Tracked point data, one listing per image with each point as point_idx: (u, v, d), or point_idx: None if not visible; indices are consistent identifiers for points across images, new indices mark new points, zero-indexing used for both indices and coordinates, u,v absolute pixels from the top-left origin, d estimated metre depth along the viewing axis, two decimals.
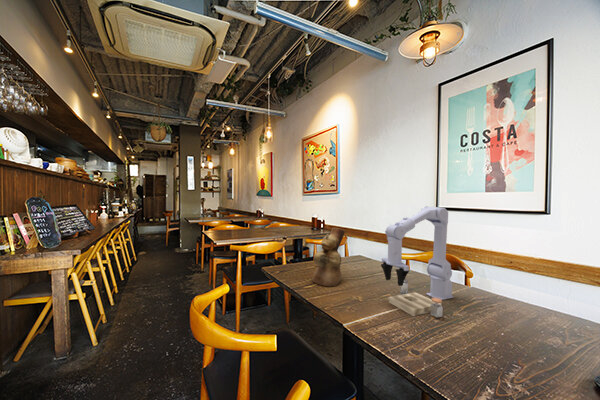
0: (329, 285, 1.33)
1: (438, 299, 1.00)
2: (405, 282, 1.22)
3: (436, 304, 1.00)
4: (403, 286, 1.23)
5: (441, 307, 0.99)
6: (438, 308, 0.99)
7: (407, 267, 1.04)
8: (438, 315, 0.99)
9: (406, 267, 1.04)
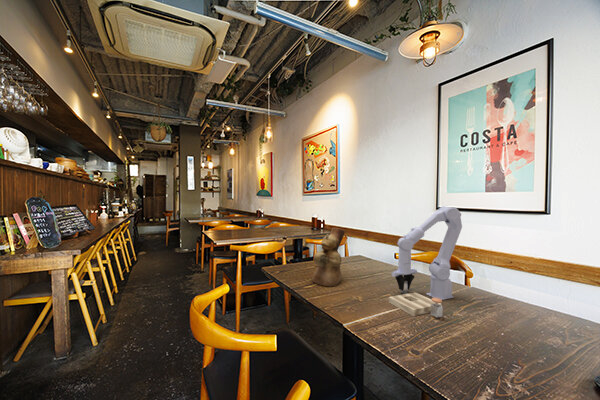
0: (329, 285, 1.33)
1: (438, 299, 1.00)
2: (405, 282, 1.22)
3: (436, 304, 1.00)
4: None
5: (441, 307, 0.99)
6: (438, 308, 0.99)
7: (393, 273, 1.21)
8: (438, 315, 0.99)
9: (392, 273, 1.21)
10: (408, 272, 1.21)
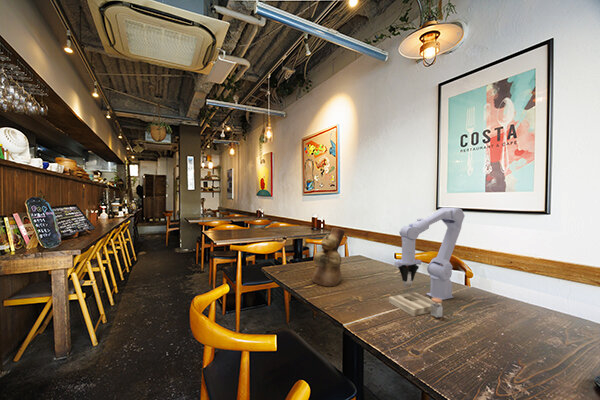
0: (329, 285, 1.33)
1: (438, 299, 1.00)
2: (408, 273, 1.16)
3: (436, 304, 1.00)
4: None
5: (441, 307, 0.99)
6: (438, 308, 0.99)
7: (396, 263, 1.14)
8: (438, 315, 0.99)
9: (395, 263, 1.15)
10: (412, 262, 1.15)
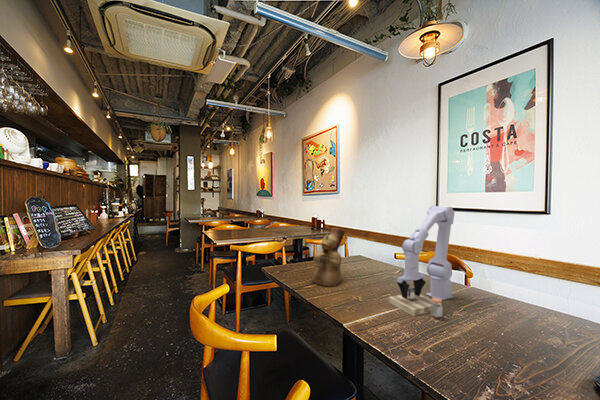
0: (329, 285, 1.33)
1: (438, 299, 1.00)
2: (412, 291, 1.11)
3: (436, 304, 1.00)
4: (409, 295, 1.11)
5: (441, 307, 0.99)
6: (438, 308, 0.99)
7: (399, 279, 1.09)
8: (438, 315, 0.99)
9: (398, 279, 1.10)
10: (415, 278, 1.10)
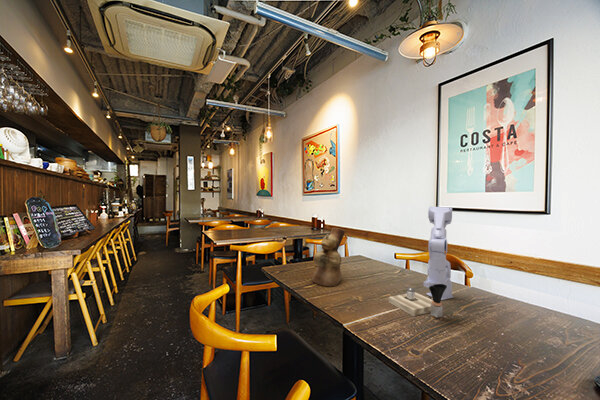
0: (329, 285, 1.33)
1: None
2: (412, 291, 1.11)
3: None
4: (409, 295, 1.11)
5: (441, 307, 0.99)
6: (438, 308, 0.99)
7: (426, 283, 0.96)
8: (438, 315, 0.99)
9: (424, 283, 0.97)
10: (443, 281, 0.98)
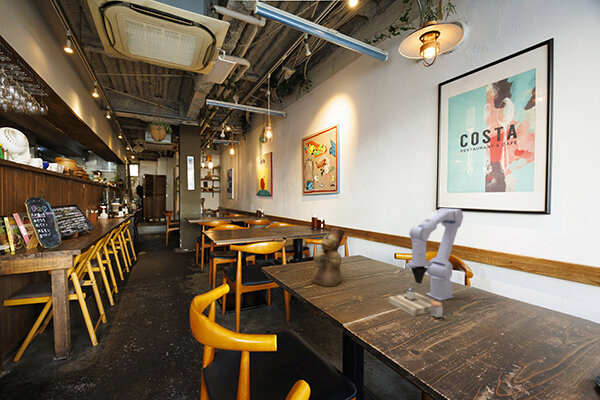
0: (329, 285, 1.33)
1: (438, 303, 1.00)
2: (411, 291, 1.11)
3: None
4: (409, 295, 1.11)
5: (441, 307, 0.99)
6: (438, 308, 0.99)
7: (407, 265, 1.11)
8: (438, 315, 0.99)
9: (406, 265, 1.11)
10: (423, 264, 1.11)
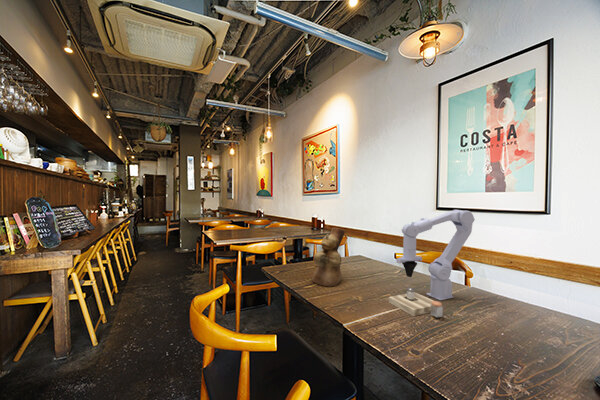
0: (329, 285, 1.33)
1: (438, 303, 1.00)
2: (412, 291, 1.11)
3: None
4: (409, 295, 1.11)
5: (441, 307, 0.99)
6: (438, 308, 0.99)
7: (398, 260, 1.19)
8: (438, 315, 0.99)
9: (397, 259, 1.20)
10: (413, 258, 1.20)
